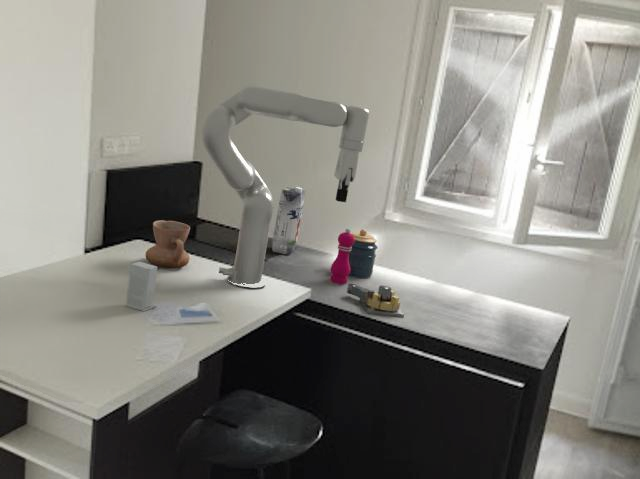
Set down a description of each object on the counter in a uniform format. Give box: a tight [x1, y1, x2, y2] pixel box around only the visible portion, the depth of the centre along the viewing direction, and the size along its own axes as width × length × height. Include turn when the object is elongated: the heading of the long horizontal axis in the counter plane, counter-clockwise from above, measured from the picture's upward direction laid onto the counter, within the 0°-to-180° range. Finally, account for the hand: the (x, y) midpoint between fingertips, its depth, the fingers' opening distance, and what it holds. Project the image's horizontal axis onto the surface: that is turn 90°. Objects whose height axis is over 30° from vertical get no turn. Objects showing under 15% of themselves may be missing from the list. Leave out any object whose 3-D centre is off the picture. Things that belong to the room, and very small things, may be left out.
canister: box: [348, 228, 378, 279], centre depth 266 cm, size 13×13×18 cm
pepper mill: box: [329, 227, 355, 285], centre depth 249 cm, size 7×7×20 cm
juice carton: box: [271, 186, 306, 256], centre depth 279 cm, size 9×10×27 cm
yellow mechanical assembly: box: [346, 283, 401, 311], centre depth 229 cm, size 19×11×4 cm, turn 52°
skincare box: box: [125, 261, 158, 312], centre depth 187 cm, size 6×4×12 cm
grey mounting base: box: [359, 284, 405, 318], centre depth 227 cm, size 12×12×8 cm
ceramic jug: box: [145, 219, 191, 270], centre depth 231 cm, size 18×14×14 cm
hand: (340, 201), depth 226 cm, fingers closed
